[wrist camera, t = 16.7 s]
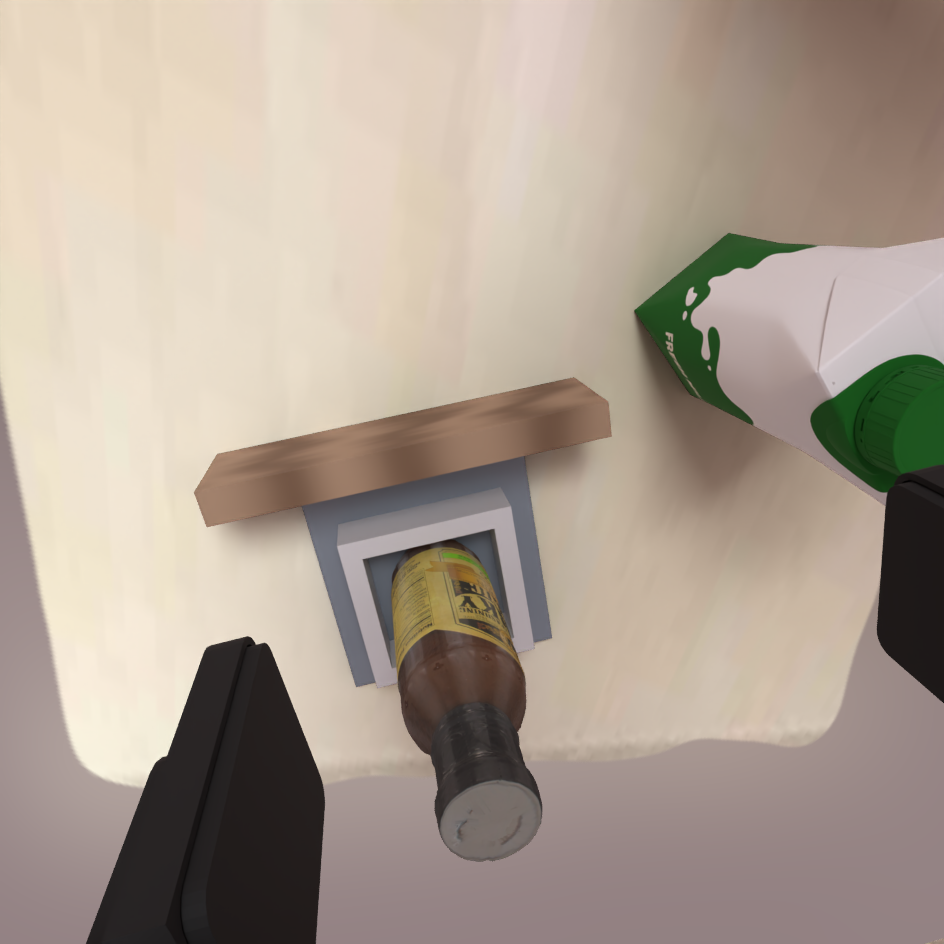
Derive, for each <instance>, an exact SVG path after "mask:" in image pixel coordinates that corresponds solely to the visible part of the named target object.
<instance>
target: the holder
mask: <svg viewBox="0 0 944 944" xmlns="http://www.w3.org/2000/svg"><path fill="white" fill-rule="evenodd" d="M302 508H303V511H304V515H305V518H306V521H307V525H308V528H309V531H310V535H311V538H312V541H313V545H314V548H315V551H316V555H317V558H318V561H319V565H320V568H321V571H322V575H323V578H324V581H325V585H326V588H327V591H328V595H329V598H330V601H331V605H332V608H333V611H334V615H335V618H336V621H337V625H338V628H339V631H340V635H341V638H342V641H343V645H344V648H345V651H346V655H347V658H348V661H349V665H350V668H351V671H352V675H353V678H354V681H355V685H356V687H358V686H362V685H366V684H370V683H374V682H376V685H377V688H380V687H384V686H388V685H392V684H396V683H398V681H397V669H396V655H395V642H394V628H393V615H392V602H391V590H392V574H393V571H394V569H395V568H396V565H397V563H398V562H399V560H400V559H401V557H402V556H403V555H404V554H405V552H406V551H407V550H408V549H409V548H413V547H417V546H422V545H426V544H430V543H435V542H439V541H443V540H447V539H452V540H456V541H457V542H459V543H461V544H462V545H464V546H466V547H467V548H468V549H470V550H471V551H473V552H474V553H475V554H476V555H477V557H478V558H479V560H480V562H481V564H482V565H483V567H484V568H485V570H486V572H487V574H488V577H489V579H490V582H491V585H492V587H493V590H494V592H495V595H496V598H497V601H498V604H499V607H500V609H501V611H502V613H503V616H504V619H505V621H506V624H507V627H508V629H509V632H510V635H511V639H512V642H513V645H514V648H515V650H516V653H520V652H524V651H528V650H532V649H535V647H534V642H538V641H542V640H546V639H550V638H552V634H551V627H550V621H549V614H548V608H547V601H546V595H545V588H544V582H543V575H542V569H541V562H540V556H539V549H538V543H537V536H536V530H535V523H534V517H533V510H532V504H531V497H530V491H529V484H528V478H527V471H526V465H525V458H524V456H522V457H518V458H513V459H509V460H504V461H500V462H495V463H491V464H486V465H482V466H477V467H473V468H469V469H464V470H460V471H455V472H451V473H446V474H442V475H437V476H433V477H428V478H424V479H420V480H415V481H411V482H406V483H402V484H397V485H393V486H388V487H384V488H379V489H375V490H371V491H366V492H362V493H357V494H353V495H348V496H344V497H339V498H335V499H330V500H326V501H321V502H317V503H313V504H308V505H304V506H302Z"/></svg>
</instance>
